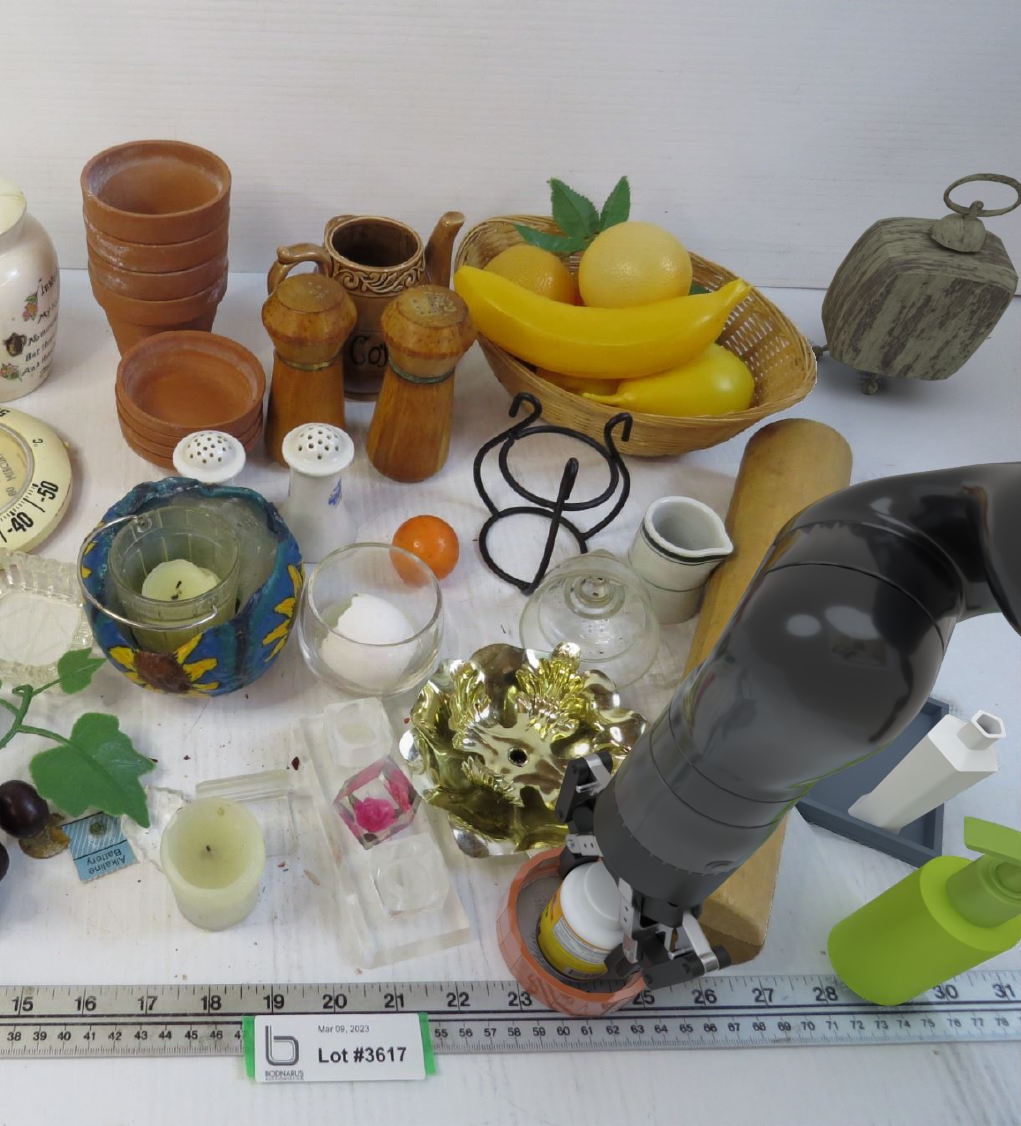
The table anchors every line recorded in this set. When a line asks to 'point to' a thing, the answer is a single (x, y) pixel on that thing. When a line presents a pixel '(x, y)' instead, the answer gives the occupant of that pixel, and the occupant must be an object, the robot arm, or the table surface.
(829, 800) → the tray
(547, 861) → the faceted terracotta bangle
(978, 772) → the perfume bottle
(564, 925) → the supplement bottle
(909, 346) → the tabletop clock
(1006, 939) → the soap dispenser
